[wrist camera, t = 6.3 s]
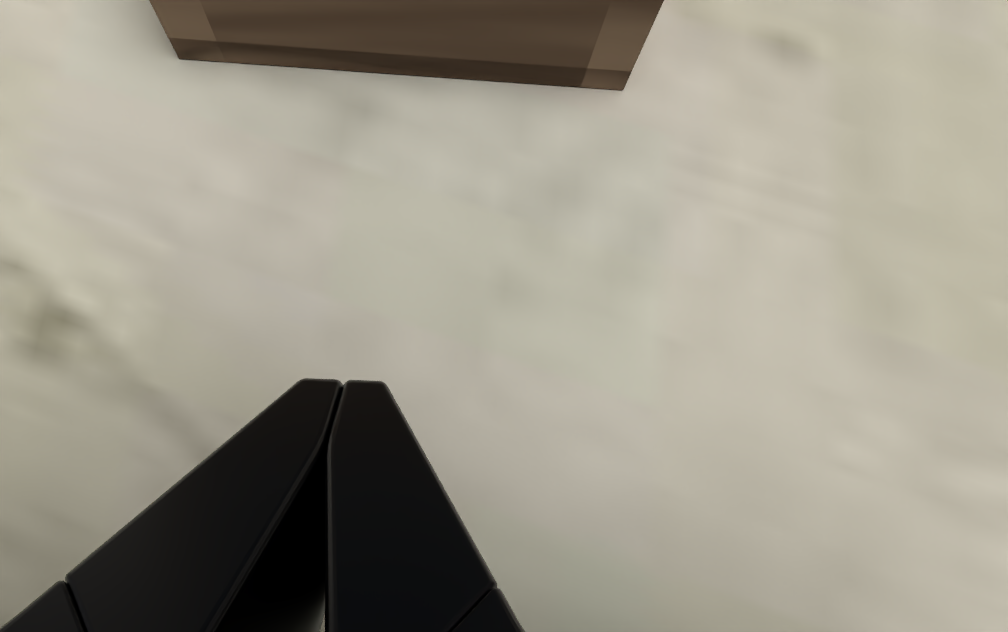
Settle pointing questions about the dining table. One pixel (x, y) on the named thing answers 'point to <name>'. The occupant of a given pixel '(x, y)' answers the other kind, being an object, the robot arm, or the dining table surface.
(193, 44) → the pencil box
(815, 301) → the dining table surface
